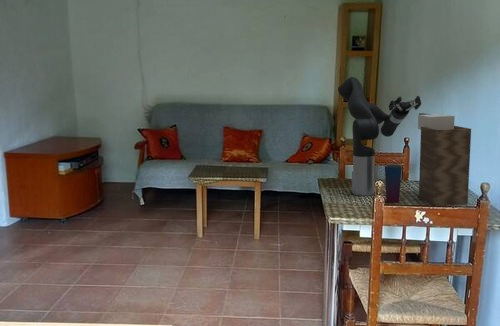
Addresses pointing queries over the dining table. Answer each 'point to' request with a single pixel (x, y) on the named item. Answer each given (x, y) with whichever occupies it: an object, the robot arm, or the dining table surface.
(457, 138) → the cabinet
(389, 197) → the cup
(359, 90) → the robot arm
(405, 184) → the dining table surface
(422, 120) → the caddy
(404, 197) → the dining table surface
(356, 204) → the dining table surface
